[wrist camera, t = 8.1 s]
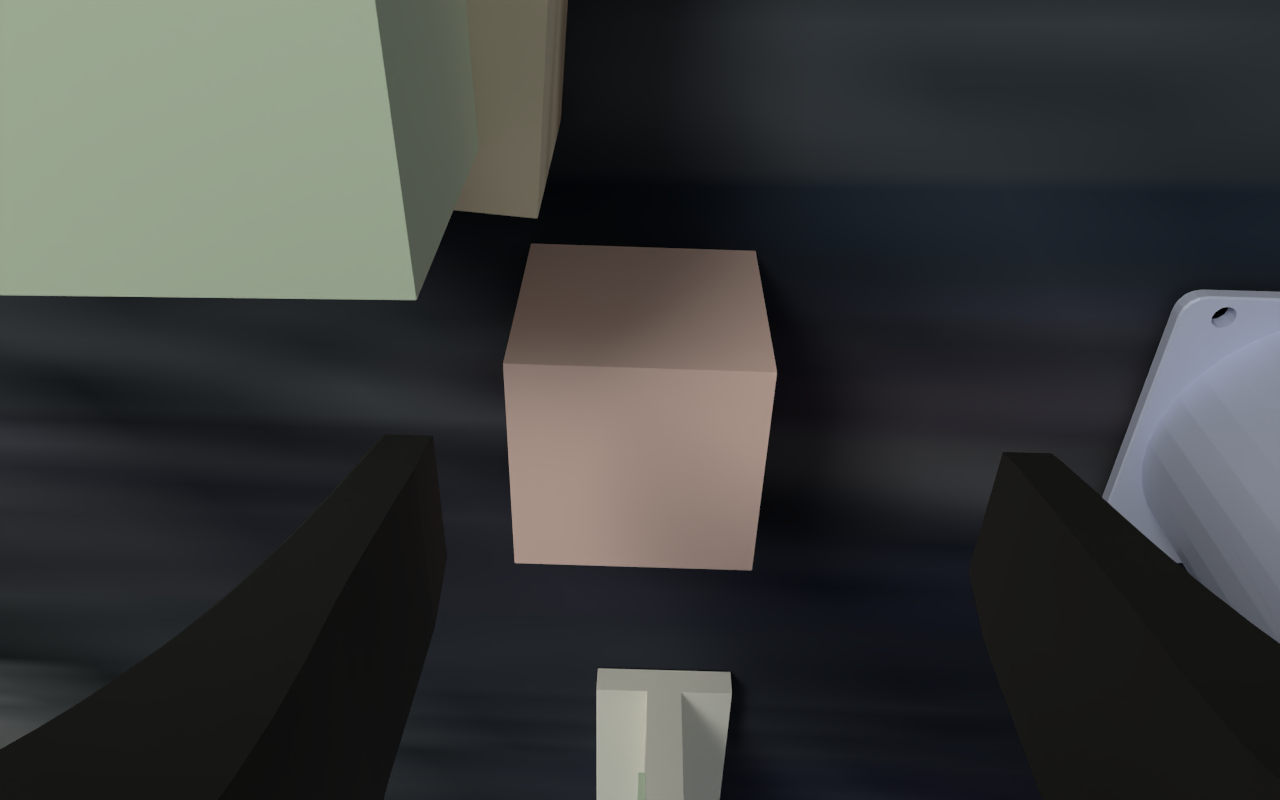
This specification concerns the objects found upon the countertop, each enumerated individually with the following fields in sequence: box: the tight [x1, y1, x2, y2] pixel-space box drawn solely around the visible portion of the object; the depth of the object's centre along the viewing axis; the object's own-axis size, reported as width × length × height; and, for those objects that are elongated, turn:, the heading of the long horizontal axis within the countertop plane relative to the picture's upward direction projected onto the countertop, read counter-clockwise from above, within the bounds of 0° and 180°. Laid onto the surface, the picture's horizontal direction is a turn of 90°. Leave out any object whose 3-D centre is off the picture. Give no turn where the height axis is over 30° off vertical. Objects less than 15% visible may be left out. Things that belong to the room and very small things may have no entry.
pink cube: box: [503, 244, 777, 570], centre depth 22 cm, size 5×5×5 cm
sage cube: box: [0, 0, 479, 300], centre depth 13 cm, size 5×5×5 cm
